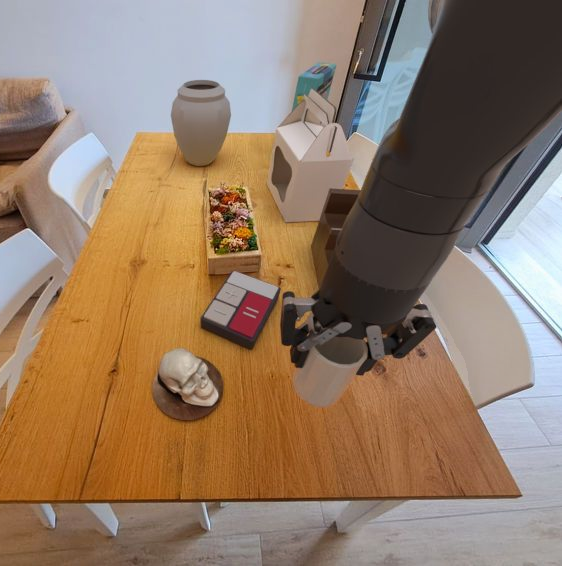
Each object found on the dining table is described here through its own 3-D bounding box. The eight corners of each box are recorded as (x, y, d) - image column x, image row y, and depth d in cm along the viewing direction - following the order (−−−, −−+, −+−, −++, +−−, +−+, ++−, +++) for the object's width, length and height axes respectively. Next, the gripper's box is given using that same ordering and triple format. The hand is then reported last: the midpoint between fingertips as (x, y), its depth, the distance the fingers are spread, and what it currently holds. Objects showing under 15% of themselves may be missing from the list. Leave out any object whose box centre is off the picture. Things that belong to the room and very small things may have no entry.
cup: (350, 386, 42) (378, 344, 36) (324, 417, 39) (349, 378, 33) (309, 356, 45) (328, 313, 39) (282, 382, 42) (297, 341, 36)
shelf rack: (407, 336, 63) (454, 275, 52) (326, 327, 65) (354, 267, 54) (373, 251, 82) (402, 192, 70) (310, 246, 83) (329, 188, 72)
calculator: (199, 316, 63) (232, 267, 71) (199, 329, 66) (231, 280, 74) (254, 339, 59) (282, 284, 67) (251, 352, 62) (278, 298, 70)
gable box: (266, 183, 106) (283, 85, 87) (306, 182, 107) (332, 83, 87) (285, 223, 90) (311, 114, 71) (332, 221, 91) (371, 111, 71)
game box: (298, 169, 113) (319, 78, 94) (280, 164, 116) (298, 75, 97) (315, 147, 126) (337, 63, 107) (299, 144, 128) (318, 61, 109)
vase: (226, 150, 125) (231, 76, 108) (228, 174, 111) (235, 94, 94) (174, 150, 126) (171, 76, 108) (170, 174, 112) (166, 94, 95)
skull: (241, 375, 57) (221, 382, 47) (210, 425, 57) (185, 441, 48) (188, 336, 62) (161, 336, 53) (161, 382, 63) (130, 389, 54)
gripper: (298, 278, 25) (265, 386, 37) (505, 296, 24) (402, 403, 35) (291, 222, 31) (264, 332, 42) (460, 234, 29) (383, 345, 41)
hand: (327, 364), depth 39 cm, fingers closed on cup, 6 cm apart
